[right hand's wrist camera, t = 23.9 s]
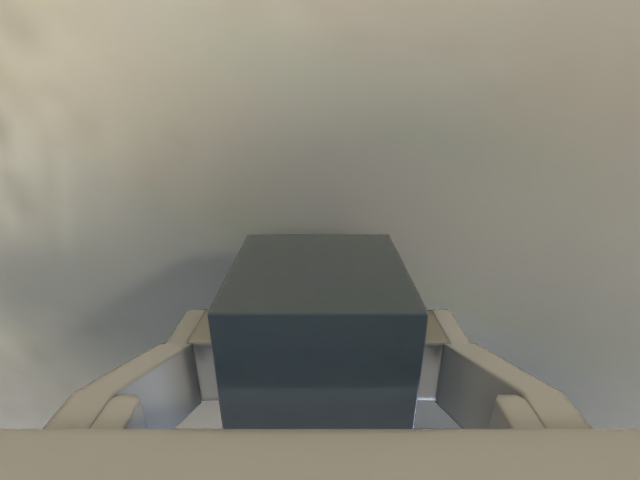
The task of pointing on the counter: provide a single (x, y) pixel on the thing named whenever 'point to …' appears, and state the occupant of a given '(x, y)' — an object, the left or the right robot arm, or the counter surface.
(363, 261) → the block
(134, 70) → the counter surface
